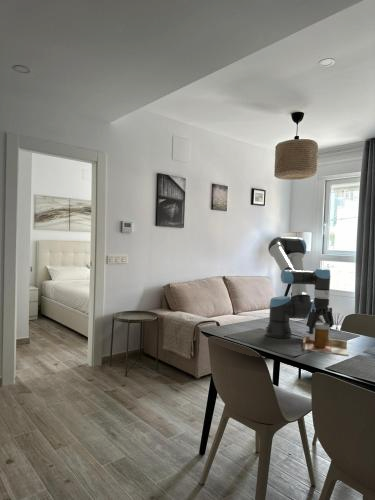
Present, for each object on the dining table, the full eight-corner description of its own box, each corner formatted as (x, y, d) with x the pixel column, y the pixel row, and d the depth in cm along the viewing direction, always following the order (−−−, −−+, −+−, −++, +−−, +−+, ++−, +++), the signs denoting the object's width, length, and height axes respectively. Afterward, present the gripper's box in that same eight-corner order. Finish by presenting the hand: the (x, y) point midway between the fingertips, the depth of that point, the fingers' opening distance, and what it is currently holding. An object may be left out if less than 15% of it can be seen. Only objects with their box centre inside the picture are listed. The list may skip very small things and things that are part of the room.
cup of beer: (328, 344, 192) (329, 322, 192) (329, 349, 183) (330, 326, 183) (310, 342, 195) (311, 320, 195) (309, 347, 186) (311, 324, 186)
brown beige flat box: (302, 349, 186) (302, 342, 186) (303, 342, 200) (304, 335, 200) (348, 355, 178) (348, 348, 178) (346, 348, 192) (346, 340, 192)
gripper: (310, 299, 181) (308, 342, 181) (342, 298, 190) (340, 339, 190) (300, 297, 188) (298, 339, 188) (331, 296, 197) (329, 336, 197)
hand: (319, 339), depth 189 cm, fingers open, 10 cm apart
